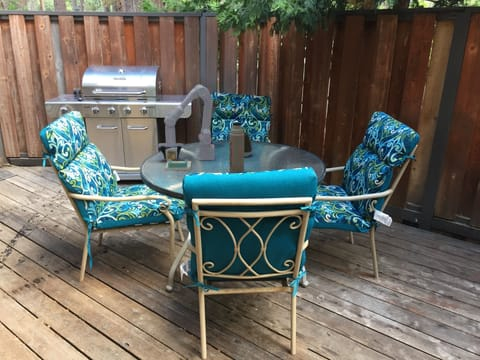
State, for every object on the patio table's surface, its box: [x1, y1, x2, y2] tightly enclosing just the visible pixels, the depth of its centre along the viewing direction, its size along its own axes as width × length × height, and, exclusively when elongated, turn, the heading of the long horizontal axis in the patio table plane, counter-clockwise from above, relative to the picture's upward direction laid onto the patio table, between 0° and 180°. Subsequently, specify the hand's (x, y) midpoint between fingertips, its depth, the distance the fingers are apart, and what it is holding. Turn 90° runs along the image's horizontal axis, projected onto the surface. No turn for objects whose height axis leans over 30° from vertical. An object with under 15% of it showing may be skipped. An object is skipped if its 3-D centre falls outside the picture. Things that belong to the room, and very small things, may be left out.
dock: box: [164, 158, 192, 171], centre depth 235 cm, size 14×12×4 cm
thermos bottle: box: [229, 121, 245, 174], centre depth 221 cm, size 8×8×28 cm
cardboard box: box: [166, 150, 177, 162], centre depth 244 cm, size 4×6×5 cm
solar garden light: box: [200, 101, 220, 144], centre depth 270 cm, size 12×12×30 cm
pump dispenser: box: [243, 131, 253, 158], centre depth 254 cm, size 10×10×15 cm
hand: (171, 158), depth 245 cm, fingers open, 7 cm apart
